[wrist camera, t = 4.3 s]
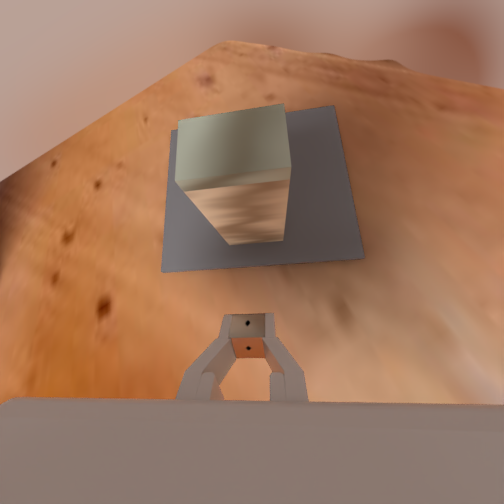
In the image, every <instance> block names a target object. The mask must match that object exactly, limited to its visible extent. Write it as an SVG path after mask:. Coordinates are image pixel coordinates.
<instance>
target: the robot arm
mask: <svg viewBox="0 0 504 504" xmlns="http://www.w3.org/2000/svg"><path fill="white" fill-rule="evenodd" d="M236 358H265V359H266V361H267V363H268V364H269V366H270V368H271V370H272V373H271V375H270V401H244V400H224V397H223V394H222V392H221V389H220V387H219V385H220V383H221V382H222V380H223V379H224V377H225V376H226V374H227V373H228V371H229V370H230V368H231V366H232V365H233V363H234V362H235V360H236ZM0 504H504V405H490V404H428V403H364V402H309V401H308V395H307V389H306V383H305V377H304V372H303V370H302V369H301V368H300V366H299V365H298V364H297V362H296V361H295V360H294V358H293V357H292V356H291V354H290V353H289V352H288V350H287V349H286V348H285V346H284V345H283V344H282V342H281V341H280V340H279V338H278V337H276V329H275V318H274V313H257V314H228V315H224V317H223V321H222V325H221V329H220V333H219V337H218V339H215V340H214V341H213V342H212V343H211V344H210V345H209V347H208V348H207V349H206V350H205V351H204V352H203V353H202V354H201V355H200V356H199V357H198V358H197V359H196V360H195V362H194V363H193V364H192V365H191V366H190V367H189V368H188V369H187V370H186V371H185V373H184V376H183V379H182V382H181V385H180V387H179V390H178V393H177V396H176V399H119V398H57V397H15V398H12V399H10V400H8V401H6V402H4V403H2V404H0Z"/></svg>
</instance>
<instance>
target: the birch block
mask: <svg viewBox="0 0 504 504" xmlns="http://www.w3.org/2000/svg"><path fill="white" fill-rule="evenodd" d="M290 175H291V158H290V150H289V141H288V133H287V124H286V116H285V107H284V104H277V105H271V106H265V107H259V108H252V109H246V110H240V111H234V112H227V113H221V114H215V115H209V116H202V117H196V118H190V119H184V120H178V136H177V152H176V169H175V182H176V183H177V184H178V186H179V187H180V188H181V189H182V190H183V191H184V193H185V194H186V195H187V196H188V197H189V199H190V200H191V201H192V202H193V203H194V204H195V206H196V207H197V208H198V209H199V210H200V211H201V213H202V214H203V215H204V216H205V217H206V218H207V220H208V221H209V222H210V223H211V224H212V225H213V227H214V228H215V229H216V230H217V231H218V232H219V234H220V235H221V236H222V237H223V238H224V240H225V241H226V242H227V243H228V244H229V245H239V244H251V243H263V242H275V241H283V238H284V229H285V220H286V211H287V202H288V193H289V184H290Z"/></svg>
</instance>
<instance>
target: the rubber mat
mask: <svg viewBox="0 0 504 504" xmlns="http://www.w3.org/2000/svg"><path fill="white" fill-rule="evenodd" d="M285 116H286V124H287V133H288V141H289V150H290V158H291V175H290V184H289V193H288V202H287V211H286V220H285V229H284V238H283V241H275V242H263V243H251V244H239V245H229V244H228V243H227V242H226V241H225V240H224V238H223V237H222V236H221V235H220V234H219V232H218V231H217V230H216V229H215V228H214V227H213V225H212V224H211V223H210V222H209V221H208V220H207V218H206V217H205V216H204V215H203V214H202V213H201V211H200V210H199V209H198V208H197V207H196V206H195V204H194V203H193V202H192V201H191V200H190V199H189V197H188V196H187V195H186V194H185V193H184V191H183V190H182V189H181V188H180V187H179V186H178V184H177V183H176V182H175V169H176V152H177V136H178V129H177V130H171V142H170V156H169V170H168V183H167V197H166V211H165V225H164V239H163V252H162V266H161V272H163V273H168V272H182V271H196V270H211V269H225V268H239V267H254V266H268V265H282V264H297V263H311V262H326V261H340V260H354V259H363V258H365V256H364V251H363V246H362V241H361V236H360V231H359V226H358V221H357V216H356V211H355V206H354V201H353V196H352V191H351V186H350V181H349V177H348V172H347V167H346V162H345V157H344V152H343V147H342V142H341V137H340V132H339V127H338V122H337V117H336V112H335V107H334V105H333V106H326V107H320V108H313V109H307V110H300V111H294V112H287V113H285Z"/></svg>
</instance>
